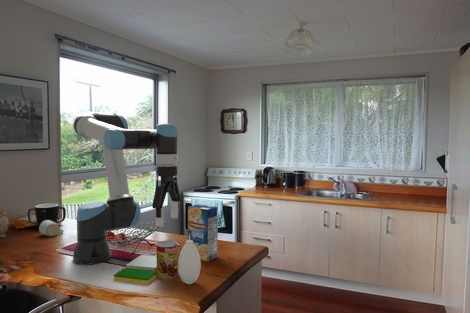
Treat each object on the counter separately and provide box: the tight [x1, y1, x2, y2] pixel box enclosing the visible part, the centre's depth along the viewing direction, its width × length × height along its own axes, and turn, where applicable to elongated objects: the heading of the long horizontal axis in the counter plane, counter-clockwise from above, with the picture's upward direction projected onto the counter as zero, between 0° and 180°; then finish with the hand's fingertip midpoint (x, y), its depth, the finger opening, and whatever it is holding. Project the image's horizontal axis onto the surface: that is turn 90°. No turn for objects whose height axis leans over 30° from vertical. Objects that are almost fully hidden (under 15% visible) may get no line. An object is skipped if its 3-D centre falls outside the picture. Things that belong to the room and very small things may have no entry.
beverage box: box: [187, 203, 219, 262], centre depth 153 cm, size 7×11×22 cm, turn 56°
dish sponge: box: [113, 267, 158, 285], centre depth 130 cm, size 7×14×2 cm, turn 75°
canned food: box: [156, 239, 179, 280], centre depth 133 cm, size 8×8×12 cm
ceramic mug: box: [38, 220, 64, 237], centre depth 186 cm, size 11×8×8 cm
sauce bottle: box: [178, 233, 202, 285], centre depth 125 cm, size 8×8×18 cm
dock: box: [125, 254, 157, 274], centre depth 140 cm, size 12×12×3 cm
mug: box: [27, 203, 67, 227], centre depth 205 cm, size 16×16×12 cm
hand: (167, 222), depth 132 cm, fingers open, 13 cm apart
